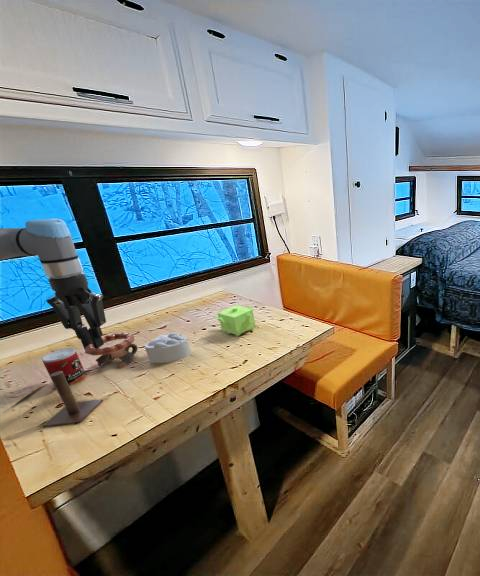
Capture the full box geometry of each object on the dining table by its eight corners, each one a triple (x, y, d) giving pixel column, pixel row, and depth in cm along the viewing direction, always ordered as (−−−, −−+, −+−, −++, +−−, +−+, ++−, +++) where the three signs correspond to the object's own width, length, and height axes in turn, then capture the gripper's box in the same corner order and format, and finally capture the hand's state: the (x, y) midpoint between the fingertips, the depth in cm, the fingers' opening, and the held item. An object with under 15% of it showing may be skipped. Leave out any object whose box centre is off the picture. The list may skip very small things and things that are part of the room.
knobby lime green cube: (256, 335, 130) (251, 311, 126) (219, 342, 125) (213, 317, 121) (257, 321, 143) (253, 299, 139) (224, 326, 139) (218, 304, 135)
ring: (76, 358, 89) (73, 352, 88) (104, 338, 100) (101, 333, 99) (120, 354, 91) (118, 348, 90) (142, 335, 101) (141, 330, 101)
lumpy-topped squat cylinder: (165, 350, 120) (159, 330, 117) (197, 350, 120) (192, 330, 117) (145, 365, 111) (138, 344, 108) (180, 365, 110) (174, 344, 107)
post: (44, 430, 83) (21, 386, 78) (71, 406, 91) (51, 365, 86) (81, 425, 84) (61, 382, 79) (104, 403, 92) (87, 362, 87)
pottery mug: (115, 376, 106) (95, 359, 103) (108, 379, 111) (89, 363, 108) (148, 351, 115) (130, 335, 112) (140, 355, 120) (123, 340, 117)
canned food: (74, 388, 99) (60, 360, 95) (48, 390, 99) (33, 361, 95) (93, 374, 106) (82, 347, 102) (69, 376, 106) (56, 348, 102)
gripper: (105, 269, 91) (129, 338, 99) (47, 272, 89) (76, 342, 97) (86, 277, 84) (113, 350, 92) (22, 280, 82) (56, 355, 90)
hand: (94, 346), depth 94 cm, fingers closed on ring, 2 cm apart
